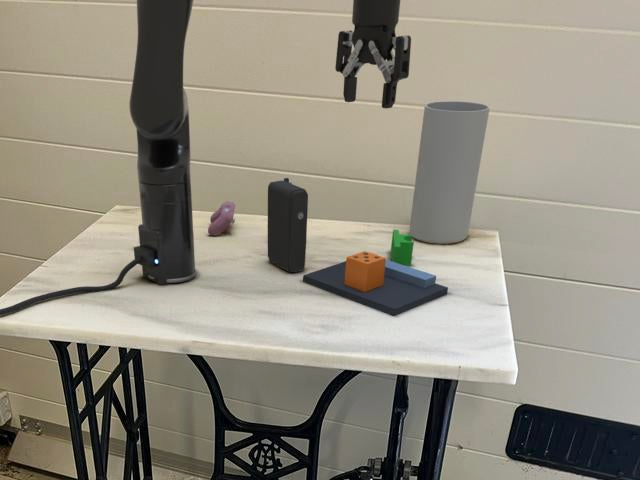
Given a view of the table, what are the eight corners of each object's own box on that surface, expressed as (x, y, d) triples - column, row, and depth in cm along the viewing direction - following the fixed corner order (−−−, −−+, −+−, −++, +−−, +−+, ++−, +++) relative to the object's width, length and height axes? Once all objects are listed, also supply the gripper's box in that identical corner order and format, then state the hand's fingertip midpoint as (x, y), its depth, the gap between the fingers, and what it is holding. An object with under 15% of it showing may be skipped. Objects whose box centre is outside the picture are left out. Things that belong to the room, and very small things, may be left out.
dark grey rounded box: (308, 271, 141) (311, 189, 132) (290, 275, 140) (293, 192, 130) (282, 258, 147) (284, 178, 138) (265, 261, 146) (266, 181, 137)
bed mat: (393, 315, 124) (395, 299, 122) (302, 281, 137) (303, 266, 135) (447, 293, 132) (449, 278, 130) (356, 263, 145) (357, 249, 143)
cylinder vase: (429, 224, 166) (447, 99, 151) (478, 235, 159) (501, 106, 144) (397, 236, 159) (412, 106, 144) (446, 248, 152) (468, 113, 137)
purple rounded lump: (224, 243, 160) (238, 213, 156) (205, 233, 158) (219, 203, 155) (226, 230, 167) (240, 201, 164) (208, 220, 166) (221, 191, 162)
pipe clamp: (411, 271, 141) (414, 247, 139) (391, 270, 142) (394, 246, 139) (408, 252, 150) (411, 229, 147) (390, 251, 150) (393, 228, 148)
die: (364, 292, 129) (367, 263, 126) (344, 284, 132) (346, 256, 129) (383, 285, 132) (386, 257, 129) (362, 278, 135) (365, 250, 132)
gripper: (329, -11, 119) (323, 102, 129) (397, -9, 110) (385, 112, 120) (359, -12, 123) (352, 97, 133) (428, -10, 114) (414, 107, 124)
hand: (368, 104), depth 126 cm, fingers open, 8 cm apart
